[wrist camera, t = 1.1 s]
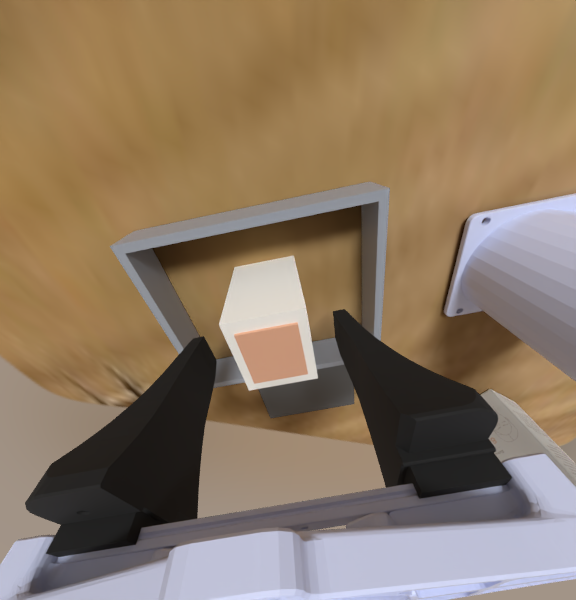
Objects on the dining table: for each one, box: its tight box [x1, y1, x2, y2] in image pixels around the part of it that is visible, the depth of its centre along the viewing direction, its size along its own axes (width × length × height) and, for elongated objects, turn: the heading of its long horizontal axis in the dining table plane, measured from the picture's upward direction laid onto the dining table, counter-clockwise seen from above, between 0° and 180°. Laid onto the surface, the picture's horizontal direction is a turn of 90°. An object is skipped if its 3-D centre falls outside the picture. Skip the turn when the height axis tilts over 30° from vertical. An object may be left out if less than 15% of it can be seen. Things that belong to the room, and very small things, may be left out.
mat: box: [259, 365, 354, 418], centre depth 23 cm, size 9×8×1 cm
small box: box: [480, 389, 576, 487], centre depth 24 cm, size 8×6×10 cm
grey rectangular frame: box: [110, 182, 390, 388], centre depth 16 cm, size 14×12×2 cm
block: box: [219, 256, 318, 391], centre depth 14 cm, size 4×5×6 cm
